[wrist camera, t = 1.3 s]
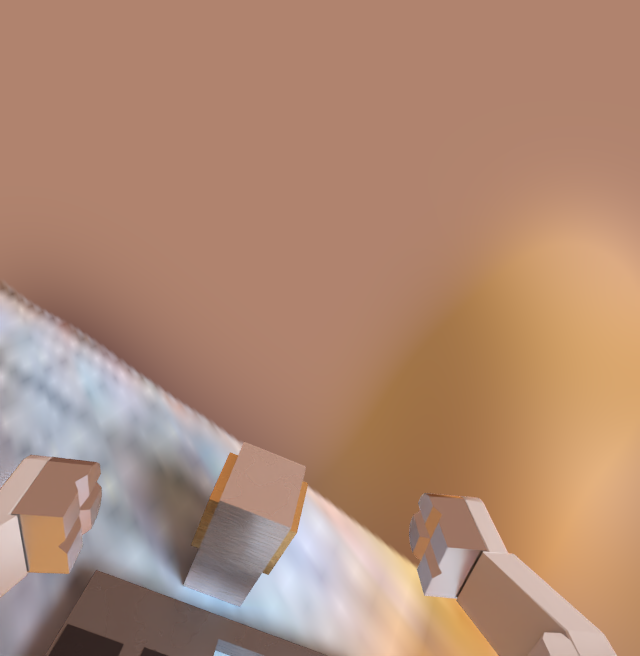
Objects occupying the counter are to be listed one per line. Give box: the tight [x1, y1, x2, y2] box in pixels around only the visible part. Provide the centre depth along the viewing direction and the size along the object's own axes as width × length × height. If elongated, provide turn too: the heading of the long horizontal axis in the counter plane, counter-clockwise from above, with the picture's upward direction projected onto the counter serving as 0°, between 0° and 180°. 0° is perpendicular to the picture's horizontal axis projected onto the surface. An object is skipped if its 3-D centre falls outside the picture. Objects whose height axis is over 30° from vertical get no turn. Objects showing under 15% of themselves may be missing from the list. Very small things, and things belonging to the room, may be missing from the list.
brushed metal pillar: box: [183, 442, 308, 607], centre depth 30 cm, size 6×4×12 cm
